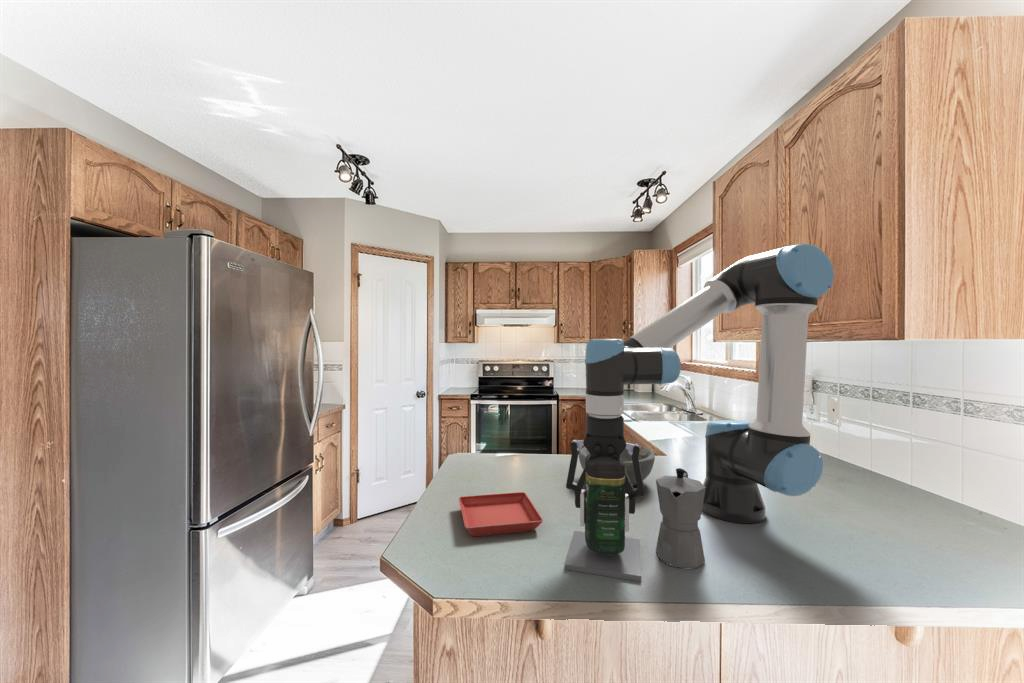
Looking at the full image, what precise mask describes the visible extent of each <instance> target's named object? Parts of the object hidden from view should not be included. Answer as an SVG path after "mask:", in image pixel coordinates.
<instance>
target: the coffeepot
mask: <svg viewBox="0 0 1024 683" xmlns="http://www.w3.org/2000/svg"><path fill="white" fill-rule="evenodd" d="M675 473H676V475H664V476H660V477H659V478H657V479H655V482H656V483H655V484H656V490H657V498H658V503H659V511H660V514H661V516H662V520H661V522H660V526H659V531H658V536H657V542H656V547H655V551H656V553H657V556H658V558H659V559H660V560H661V561H663V563H665V562H666V564H667V563H668V565H669V564H671V565H670V566H672V565H673V566H672V567H674V566H676V567H675V568H678V567H679V569H684V568H694V569H698V568H700V567H702V565H703V564H704V563H705V562H706V559H705V558H706V557H705V553H704V547H703V541H702V535H701V529H700V528H699V521H700V520H701V519H702V512H703V511H702V507H703V501H704V495H705V489H706V487H705V486H704V485H703V483H702V482H701V481H700V480H697V479H693V478H690V477H689V474H688V472H687V471H686V470H685V469H684V468H680V467H679V468H675ZM699 566H700V567H699Z"/></svg>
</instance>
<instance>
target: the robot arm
mask: <svg viewBox="0 0 1024 683" xmlns="http://www.w3.org/2000/svg"><path fill="white" fill-rule="evenodd" d="M834 274H835V273H834V266H833V264H832V262H831V259H830V258H829V257H828V255H826V254H825V252H824V251H823V249H821V248H819V247H818V246H816V245H814V244H811V243H798V244H792V245H786V246H785V245H784V246H783V247H780V248H776V249H772V250H769V251H764V252H760V253H755V254H752V255H747V256H746V257H744V258H742V259H740V260H738V261H736V262H735V263H733V264H731V265H730V266H729V267H728V266H727V268H725V269H723V270H722V271H721V272H719V273H717V274H716V275H715V276H713V277H712V278H710V279H708V280H707V281H706V282H705V283H704V284H703V288H702V289H701V290H700V291H698V292H696V293H695V294H694V295H692V296H690V297H688V299H686V300H684V301H682V302H681V303H680V304H678V305H677V306H676V307H673V308H672V309H671V310H669V311H668V312H667V313H664V314H663V315H662V316H660V317H659V318H657V319H656V320H654V321H653V322H651V323H650V324H647V326H645V327H644V328H642V329H641V330H639V331H638V332H636V333H634V334H633V335H631V336H630V337H628V338H627V339H625V340H624V341H623V339H621V338H591V339H589V340H588V341H587V343H586V346H585V360H584V362H585V412H586V413H587V415H585V437H584V439H580V440H579V439H575V438H574V439H572V440H571V442H570V451H571V456H570V460H569V461H570V462H569V468H568V473H567V477H566V484H565V488H566V489H567V490H571V491H573V492H574V505H575V508H578V509H579V510H580V514H579V515H580V518H579V519H580V522H579V523H580V527H585V489H583V487H584V486H585V481H586V466H585V467H584V470H583V469H582V471H581V474H580V476H579V479H578V481H577V482H576V481H575V476H576V470H577V465H578V460H579V452H580V451H581V449H582V448H583V447H586V449H587V450H588V452H589V453H590V457H589V460H592V459H595V458H597V457H598V456H601V455H606V456H610V457H611V458H613V459H615V460H617V461H619V462H620V460H621V458H620V454H621V453H622V452H623V451H624V449H625V448H626V449H627V450H628V453H629V454H630V455H632V462H633V468H634V473H635V478H636V487H635V488H634V485H632V483H631V481H630V479H629V476H628V474H627V472H626V470H625V492H626V493H625V533H626V532H627V533H629V532H630V514H631V515H635V512H636V498H638V497H644V496H645V494H646V492H645V486H644V480H642V474H641V469H640V464H639V458H638V456H639V451H640V447H639V446H640V444H639V443H630V442H627V441H626V439H625V433H624V432H625V431H624V430H625V429H624V428H625V425H624V424H625V422H624V420H625V418H624V417H623V416H622V415H623V414H624V413H625V412H624V410H625V409H624V407H625V406H624V405H625V404H624V398H625V395H624V393H625V391H624V389H625V385H626V386H628V385H629V386H630V385H659V386H662V384H663V385H664V384H672V383H674V382H676V381H677V380H678V379H679V376H680V374H681V372H682V369H681V364H682V363H681V362H682V361H681V359H680V356H679V354H678V353H677V352H676V350H674V349H673V348H672V347H674V346H676V345H677V344H678V343H680V342H681V341H683V340H684V339H686V338H688V337H690V335H692V334H693V333H694V332H696V331H697V330H699V329H700V328H703V327H704V326H705V325H706V324H708V323H710V322H712V320H714V319H716V318H717V317H719V316H721V315H722V314H730V313H733V311H735V310H737V309H738V308H741V307H742V306H746V305H749V304H751V305H752V304H754V309H755V310H757V311H758V312H759V313H760V314H761V328H760V331H761V332H760V349H759V366H758V383H757V384H758V385H757V398H756V399H757V404H756V418H755V420H753V421H751V420H739V419H738V420H735V419H733V420H732V419H731V420H729V419H728V420H727V419H726V420H712V421H709V422H708V423H707V424H706V427H705V428H706V430H705V436H704V437H705V478H704V480H703V483H702V484H703V485H704V486H705V487H706V489H705V495H704V501H703V507H702V512H703V513H705V514H707V515H709V516H710V517H711V516H712V517H714V518H716V519H719V520H723V521H727V522H731V523H739V524H756V523H760V522H762V521H764V520H765V519H766V505H765V503H764V500H763V497H762V494H761V491H760V489H759V485H760V486H762V487H763V488H767V489H768V490H769V491H771V492H775V493H779V494H782V495H784V496H787V497H799V496H802V495H805V494H807V493H808V492H810V491H811V490H812V488H814V487H816V486H817V484H818V483H819V481H820V480H821V477H822V474H823V472H824V471H823V470H824V459H823V456H822V454H820V451H818V449H817V448H816V447H814V446H813V445H811V433H810V431H809V430H808V429H807V428H806V427H805V426H804V425H803V419H804V418H803V417H804V416H803V414H804V400H805V399H804V398H805V382H806V381H805V378H806V363H807V344H808V325H809V324H808V323H809V315H810V314H811V313H813V312H814V311H815V310H816V309H818V305H819V297H822V296H824V295H825V294H826V293H828V291H829V289H831V287H832V286H833V283H834V277H835V275H834ZM589 460H588V461H589Z"/></svg>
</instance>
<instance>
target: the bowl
mask: <svg viewBox="0 0 1024 683" xmlns="http://www.w3.org/2000/svg"><path fill="white" fill-rule="evenodd" d="M639 447H640V451H639V456H638V458H639V464H640V469H641V474H642V480H643V481H644V480H645V479H647V478H648V476H649V475H650V474H651V472H652V470H653V467H654V463H655V459H656V456H655V453H654V451H653V450H652V449H650V448H649V447H646V446H641V445H639ZM588 454H590V453H589V452H588V450H587V449H586V447H585V446H582V449H581V451H579V455H578V460H579V463H580V467H581V468H582V471H583V470H584V467H585V459H586V456H587V455H588ZM620 457H621V458H622V460H623V462H624V464H625V470H626V472H627V474H628V476H629V479H630V481H631V483H632V485H633V486H637V484H636V478H635V473H634V468H633V462H632V455H630V454H629V453H628V450H627V449H626V448H625V449H624V451H623V452H622V453H621V454H620Z"/></svg>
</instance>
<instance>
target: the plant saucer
mask: <svg viewBox="0 0 1024 683" xmlns="http://www.w3.org/2000/svg"><path fill="white" fill-rule="evenodd" d="M458 503H459V507H460V510H461V515H462V519H463V525H464V528H465V530H466V531H467V532H468V533H469V534H470V535H471V536H473V537H480V536H482V537H483V536H491V535H500V534H510V533H521V532H531V531H534V530H536V529H537V528H538V527H539V526H540V525H541V524H542V523H543V522H544V518H543V517H542V516H541V514H540V512H539V511H538V510H537V508H536V507H535V505H534V504H533V502H532V501H531V499H530V498H529V496H528V494H527V493H526V492H525V491H521V492H520V491H519V492H506V493H494V494H493V493H492V494H478V495H465V496H463V495H462V496H459V497H458Z"/></svg>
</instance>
